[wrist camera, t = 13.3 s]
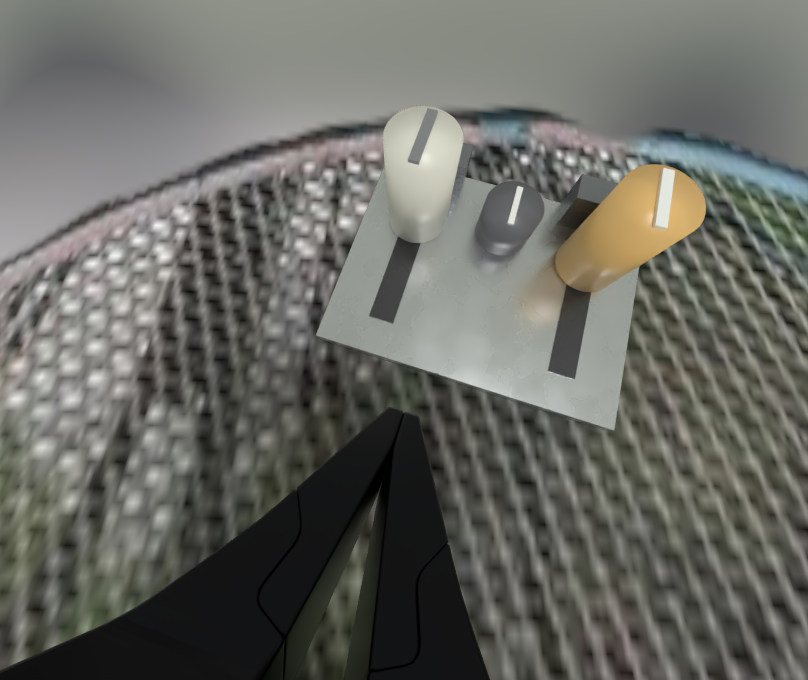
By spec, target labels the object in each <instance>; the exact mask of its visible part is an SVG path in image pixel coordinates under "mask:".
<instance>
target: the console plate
mask: <svg viewBox="0 0 808 680" xmlns="http://www.w3.org/2000/svg"><path fill="white" fill-rule="evenodd" d="M473 147H474V146H473V145H469V144H465V143H463V145H462V150H461V155H460V159H459V164H458V168H457V173H456V178H455V182H454V187H453V191H452V196H451V201H450V205H449V210H448V214H447V219H446V223H445V226H444V229H443V230H442V232H441V233H440V234H439V235H438V236H437V237H436V238H434V239H432V240H430V241H428V242H424V243H412V242H408V241H405V240H403V239H401V238H400V237H398V236H397V235H396V234H395V233H394V231H393V230H392V228H391V226H390V223H389V214H388V201H387V187H386V174H385V166H384V168H383V171H382V173H381V175H380V178H379V180H378V183H377V185H376V188H375V190H374V193H373V195H372V198H371V200H370V203H369V205H368V208H367V210H366V213H365V215H364V217H363V220H362V222H361V225H360V227H359V230H358V232H357V235H356V237H355V240H354V242H353V245H352V247H351V250H350V252H349V255H348V257H347V259H346V262H345V264H344V267H343V269H342V272H341V274H340V277H339V279H338V282H337V284H336V287H335V289H334V292H333V294H332V297H331V299H330V302H329V304H328V306H327V309H326V311H325V314H324V316H323V319H322V321H321V324H320V326H319V329H318V331H317V334H316V336H317V337H318V338H319V339H320V340H324V341H327V342H330V343H333V344H336V345H339V346H342V347H345V348H349V349H352V350H355V351H358V352H361V353H364V354H367V355H370V356H374V357H377V358H380V359H383V360H386V361H389V362H392V363H396V364H399V365H402V366H405V367H408V368H411V369H414V370H417V371H421V372H424V373H427V374H430V375H433V376H436V377H439V378H442V379H446V380H449V381H452V382H455V383H458V384H461V385H464V386H467V387H471V388H474V389H477V390H480V391H483V392H486V393H489V394H492V395H496V396H499V397H502V398H505V399H508V400H511V401H514V402H518V403H521V404H524V405H527V406H530V407H533V408H536V409H539V410H543V411H546V412H549V413H552V414H555V415H558V416H561V417H564V418H568V419H571V420H574V421H577V422H580V423H583V424H586V425H589V426H593V427H596V428H599V429H602V430H614V428H615V421H616V415H617V408H618V402H619V395H620V388H621V382H622V375H623V369H624V362H625V356H626V349H627V342H628V336H629V329H630V323H631V316H632V309H633V303H634V296H635V290H636V283H637V277H638V270H639V266H638V267H637V268H635V269H634V270H632V271H631V272H629V273H627V274H626V275H624V276H623V277H621V278H620V279H618V280H617V281H615V282H613V283H612V284H610V285H609V286H607V287H606V288H604V289H602V290H600V291H596V292H583V291H579V290H576V289H574V288H572V287H570V286H569V285H568V284H566V283H565V282H564V281H563V280H562V278H561V277H560V276H559V274H558V272H557V269H556V265H555V258H556V254H557V251H558V249H559V248H560V247H561V246H562V245H563V243H564V242H565V241H566V240H567V239H568V238H569V237H570V236H571V235H572V234H573V233H574V232H575V230H576V229H577V228H578V227H579V226H580V225H581V224H582V223H583V222H584V221H585V220H586V219H587V217H588V216H589V215H590V214H591V213H592V212H593V211H594V210H595V209H596V208H597V207H598V206H599V204H600V203H601V202H602V201H603V200H604V199H605V198H606V197H607V196H608V195H609V194H610V193H611V192H612V190H613V189H614V188H615V187H616V186H617V185H618V183H614V182H610V181H607V180H603V179H599V178H595V177H591V176H587V175H584V174H582V175H581V177H580V178H579V179H578V181H577V182H576V183H575V185H574V186H573V187H572V189H571V190H570V192H569V193H568V194H567V196H566V197H565V198H564V200H563V201H562V202H561V203H559V202H555V201H551V200H548V199H544V198H542V200H543V202H544V207H545V212H544V216H543V219H542V220H541V222H540V223H539V225H538V226H537V228H536V229H535V230H534V232H533V233H532V235H531V236H530V238H529V239H528V240H527V242H526V243H525V245H524V246H523V247H522V248H521V249H520V250H519V251H518V252H516V253H514V254H511V255H505V256H502V255H496V254H493V253H490V252H488V251H487V250H485V249H484V248H483V247H482V246H481V245H480V243H479V242H478V240H477V238H476V233H475V228H476V224H477V221H478V219H479V216H480V214H481V211H482V208H483V206H484V203H485V200H486V198H487V195H488V193H489V192H490V191H491V190H492V189H493V188H494V187H495V186H496V185H492V184H488V183H485V182H481V181H477V180H473V179H470V178H466V174H467V170H468V166H469V162H470V158H471V155H472V151H473Z"/></svg>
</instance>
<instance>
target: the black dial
mask: <svg viewBox="0 0 808 680" xmlns="http://www.w3.org/2000/svg"><path fill="white" fill-rule="evenodd" d="M544 212H545V207H544V202H543V200H542V197H541V196H540V194H539V193H538V192H537V191H536V190H535V189H534V188H532V187H531V186H529V185H527V184H525V183H521V182H516V181H509V182H504V183H501V184H498V185H497V186H495V187H494V188H493V189H492V190H491V191H490V192H489V193H488V195H487V198H486V200H485V203H484V206H483V208H482V211H481V214H480V216H479V219H478V221H477V224H476V228H475V233H476V238H477V240H478V242H479V243H480V245H481V246H482V247H483V248H484V249H485V250H487V251H488V252H490V253H493V254H496V255H502V256H505V255H511V254H514V253H516V252H518V251H519V250H520V249H521V248H522V247H523V246H524V245H525V243H526V242H527V240H528V239H529V238H530V236H531V235H532V233H533V232H534V230H535V229H536V228H537V226H538V225H539V223H540V222H541V220H542V219H543V216H544Z"/></svg>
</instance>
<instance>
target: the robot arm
mask: <svg viewBox="0 0 808 680" xmlns="http://www.w3.org/2000/svg"><path fill="white" fill-rule="evenodd" d="M402 416H403V417H402ZM401 419H402V420H401ZM387 464H388V465H387ZM386 467H387V468H386ZM383 477H384V478H383ZM382 480H383V481H382ZM381 483H382V484H381ZM380 486H381V488H380ZM379 489H380V491H379ZM378 492H379V496H378V500H377V506H376V511H375V516H374V522H373V527H372V532H371V537H370V543H369V548H368V553H367V559H366V564H365V569H364V575H363V580H362V585H361V590H360V596H359V601H358V606H357V612H356V617H355V622H354V628H353V633H352V638H351V643H350V649H349V654H348V659H347V665H346V670H345V675H344V680H490V678H489V675H488V672H487V670H486V667H485V664H484V661H483V658H482V655H481V652H480V649H479V646H478V643H477V640H476V637H475V634H474V631H473V628H472V625H471V622H470V619H469V615H468V612H467V609H466V606H465V603H464V600H463V596H462V593H461V589H460V585H459V582H458V578H457V574H456V570H455V566H454V562H453V558H452V554H451V550H450V546H449V545H448V544H447V543H448V538H447V533H446V529H445V525H444V521H443V516H442V512H441V508H440V504H439V499H438V495H437V491H436V487H435V482H434V478H433V474H432V470H431V465H430V461H429V457H428V453H427V448H426V444H425V440H424V436H423V431H422V427H421V423H420V419H419V417H418V416H417V415H415V414H412V413H409V412H404V414H403V411H402V410H400V409H396V408H393V407H388V408H387V409H386V410H385V411H384V412H383V413H381V414H380V415H379V416H378V417H377V418H376V419H375V420H373V421H372V422H371V423H370V424H369V425H368V426H367V427H365V428H364V429H363V430H362V431H361V432H360V433H359V434H358V435H356V436H355V437H354V438H353V439H352V440H351V441H350V442H348V443H347V444H346V445H345V446H344V447H343V448H342V449H340V450H339V451H338V452H337V453H336V454H335V455H334V456H332V457H331V458H330V459H329V460H328V461H327V462H326V463H325V464H323V465H322V466H321V467H320V468H319V469H318V470H317V471H315V472H314V473H313V474H312V475H311V476H310V477H309V478H307V479H306V480H305V481H304V482H303V483H302V484H301V485H299V486H298V487H297V490H294V491H292V492H291V493H290V494H289V495H288V496H287V497H286V498H284V499H283V500H282V501H281V502H280V503H279V504H277V505H276V506H275V507H274V508H273V509H271V510H270V511H269V512H268V513H267V514H265V515H264V516H263V517H262V518H261V519H259V520H258V521H257V522H255V523H254V524H253V525H251V526H250V527H249V528H247V529H246V530H245V531H243V532H242V533H241V534H239V535H238V536H237V537H235V538H234V539H233V540H231V541H230V542H228V543H227V544H226V545H224V546H223V547H221V548H220V549H219V550H217V551H216V552H214V553H213V554H212V555H210V556H209V557H207V558H206V559H205V560H203V561H202V562H200V563H199V564H198V565H196V566H195V567H193V568H192V569H190V570H189V571H188V572H186V573H185V574H183V575H182V576H181V577H179V578H178V579H176V580H175V581H174V582H172V583H171V584H169V585H168V586H167V587H165V588H164V589H162V590H161V591H159V592H158V593H157V594H155V595H154V596H152V597H151V598H149V599H148V600H146V601H145V602H143V603H141V604H140V605H138V606H137V607H135V608H133V609H132V610H130V611H128V612H126V613H125V614H123V615H121V616H119V617H117V618H115V619H114V620H112V621H110V622H108V623H106V624H104V625H101V626H99V627H97V628H95V629H93V630H91V631H88V632H86V633H84V634H81V635H79V636H77V637H75V638H72V639H70V640H68V641H66V642H63V643H61V644H59V645H56V646H54V647H52V648H50V649H47V650H45V651H43V652H41V653H38V654H36V655H34V656H32V657H29V658H27V659H25V660H22V661H20V662H18V663H16V664H13V665H11V666H9V667H7V668H4V669H2V670H0V680H294V679H295V677H296V674H297V672H298V670H299V668H300V666H301V663H302V661H303V659H304V657H305V654H306V652H307V650H308V648H309V646H310V643H311V641H312V639H313V637H314V634H315V632H316V630H317V628H318V626H319V623H320V621H321V619H322V617H323V615H324V612H325V610H326V608H327V606H328V603H329V601H330V599H331V597H332V595H333V592H334V590H335V588H336V586H337V583H338V581H339V579H340V577H341V575H342V572H343V570H344V568H345V566H346V563H347V561H348V559H349V557H350V555H351V552H352V550H353V548H354V546H355V543H356V541H357V539H358V537H359V535H360V532H361V530H362V528H363V526H364V523H365V521H366V519H367V517H368V515H369V512H370V510H371V508H372V506H373V504H374V501H375V499H376V497H377V494H378Z"/></svg>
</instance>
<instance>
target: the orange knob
mask: <svg viewBox="0 0 808 680" xmlns="http://www.w3.org/2000/svg"><path fill="white" fill-rule="evenodd" d="M705 213H706V204H705V199H704V196H703V194H702V192H701V190H700V189H699V187H698V186H697V185H696V183H695V182H694V181H693V180H692V179H691V178H689V177H688V176H687V175H685V174H684V173H682V172H681V171H679V170H677V169H674V168H672V167H668V166H664V165H656V164H654V165H644V166H640V167H638V168H636V169H634V170H632V171H631V172H629V173H628V174H627V175H626V176H625V177H624V179H623V180H622V181H621V182H620V183H619V184H618V185H617V186H616V187H615V188H614V189H613V190H612V192H611V193H610V194H609V195H608V196H607V197H606V198H605V199H604V200H603V201H602V202H601V203H600V204H599V206H598V207H597V208H596V209H595V210H594V211H593V212H592V213H591V214H590V215H589V216H588V217H587V219H586V220H585V221H584V222H583V223H582V224H581V225H580V226H579V227H578V228H577V229H576V230H575V232H574V233H573V234H572V235H571V236H570V237H569V238H568V239H567V240H566V241H565V242H564V243H563V245H562V246H561V247H560V248H559V249H558V251H557V254H556V258H555V265H556V269H557V272H558V274H559V276H560V277H561V278H562V280H563V281H564V282H565V283H566V284H568V285H569V286H570V287H572V288H574V289H576V290H579V291H583V292H596V291H600V290H602V289H604V288H606V287H607V286H609V285H610V284H612V283H613V282H615V281H617V280H618V279H620V278H621V277H623V276H624V275H626V274H627V273H629V272H631V271H632V270H634V269H635V268H637V267H638V266H640V265H642V264H643V263H645V262H646V261H648V260H649V259H651V258H653V257H654V256H656V255H657V254H659V253H660V252H662V251H664V250H665V249H667V248H668V247H670V246H671V245H673V244H674V243H676V242H678V241H679V240H681V239H682V238H684V237H685V236H687V235H689V234H690V233H692V232H693V231H695V230H696V229H697V228H698V227H699V226H700V225H701V223H702V222H703V220H704V217H705Z"/></svg>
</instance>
